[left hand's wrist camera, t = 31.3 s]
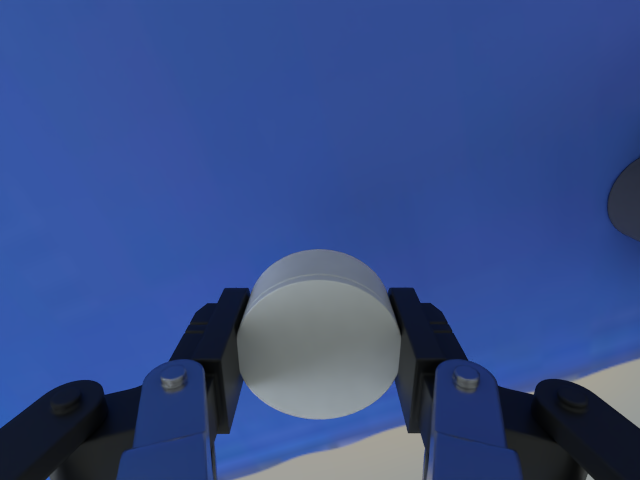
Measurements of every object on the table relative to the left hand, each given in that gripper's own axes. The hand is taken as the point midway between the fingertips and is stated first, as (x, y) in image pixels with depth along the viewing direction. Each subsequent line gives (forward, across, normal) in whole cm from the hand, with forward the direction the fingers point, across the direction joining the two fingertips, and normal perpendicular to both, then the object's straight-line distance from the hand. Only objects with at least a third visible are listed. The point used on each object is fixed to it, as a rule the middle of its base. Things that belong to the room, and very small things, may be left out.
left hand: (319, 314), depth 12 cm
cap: (-2, 0, 0) cm, 2 cm away
